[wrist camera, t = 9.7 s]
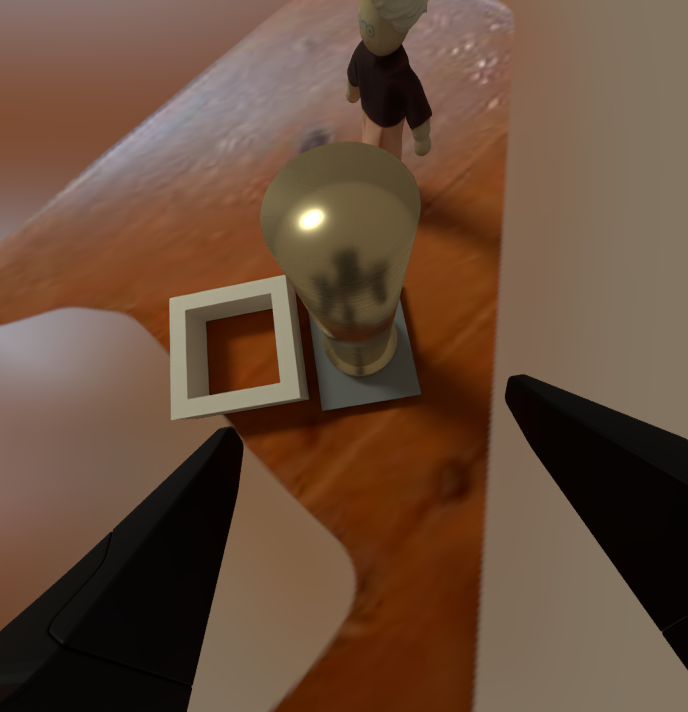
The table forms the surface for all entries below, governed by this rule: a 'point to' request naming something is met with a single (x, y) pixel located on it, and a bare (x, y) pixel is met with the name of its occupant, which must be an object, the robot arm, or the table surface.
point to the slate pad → (364, 390)
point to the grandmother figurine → (388, 76)
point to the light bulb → (345, 245)
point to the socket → (192, 348)
